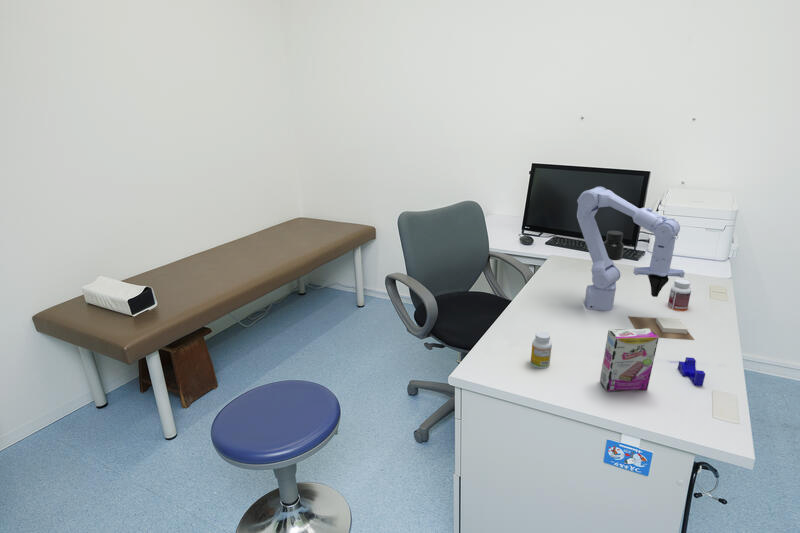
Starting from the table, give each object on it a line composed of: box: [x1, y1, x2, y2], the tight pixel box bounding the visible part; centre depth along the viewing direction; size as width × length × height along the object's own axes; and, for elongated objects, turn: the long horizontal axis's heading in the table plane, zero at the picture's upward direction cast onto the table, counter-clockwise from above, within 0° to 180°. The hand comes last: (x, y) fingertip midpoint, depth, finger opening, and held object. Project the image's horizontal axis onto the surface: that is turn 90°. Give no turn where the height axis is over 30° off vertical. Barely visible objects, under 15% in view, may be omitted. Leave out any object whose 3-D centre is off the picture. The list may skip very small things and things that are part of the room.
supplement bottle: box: [530, 331, 553, 369], centre depth 133 cm, size 5×5×10 cm
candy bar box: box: [599, 328, 660, 392], centre depth 121 cm, size 11×5×16 cm, turn 92°
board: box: [627, 316, 695, 341], centre depth 151 cm, size 16×14×1 cm
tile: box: [655, 317, 688, 334], centre depth 150 cm, size 2×7×7 cm
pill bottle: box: [667, 278, 692, 312], centre depth 163 cm, size 6×6×11 cm
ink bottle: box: [603, 230, 625, 261], centre depth 215 cm, size 10×9×12 cm
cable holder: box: [677, 356, 706, 387], centre depth 126 cm, size 8×4×4 cm, turn 168°
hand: (654, 295), depth 152 cm, fingers closed
